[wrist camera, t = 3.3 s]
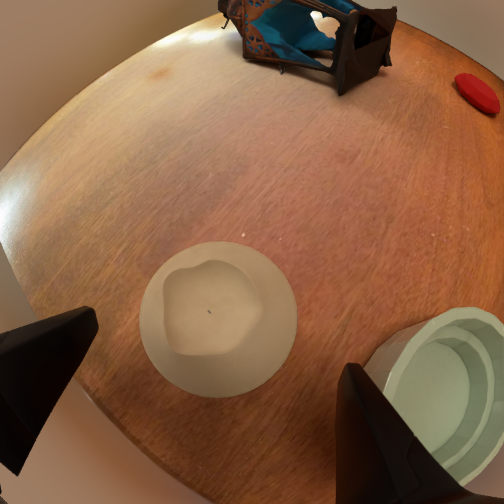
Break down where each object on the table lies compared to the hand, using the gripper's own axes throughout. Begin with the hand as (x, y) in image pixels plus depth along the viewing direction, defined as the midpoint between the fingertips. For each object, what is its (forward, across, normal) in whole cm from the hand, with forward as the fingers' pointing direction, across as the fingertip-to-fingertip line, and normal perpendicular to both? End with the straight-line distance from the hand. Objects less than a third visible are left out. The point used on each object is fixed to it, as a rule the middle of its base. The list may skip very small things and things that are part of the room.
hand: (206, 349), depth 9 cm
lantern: (+32, 0, -20) cm, 38 cm away
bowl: (+5, -13, +8) cm, 16 cm away
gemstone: (+34, -30, -21) cm, 50 cm away
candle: (+7, 0, +6) cm, 9 cm away
